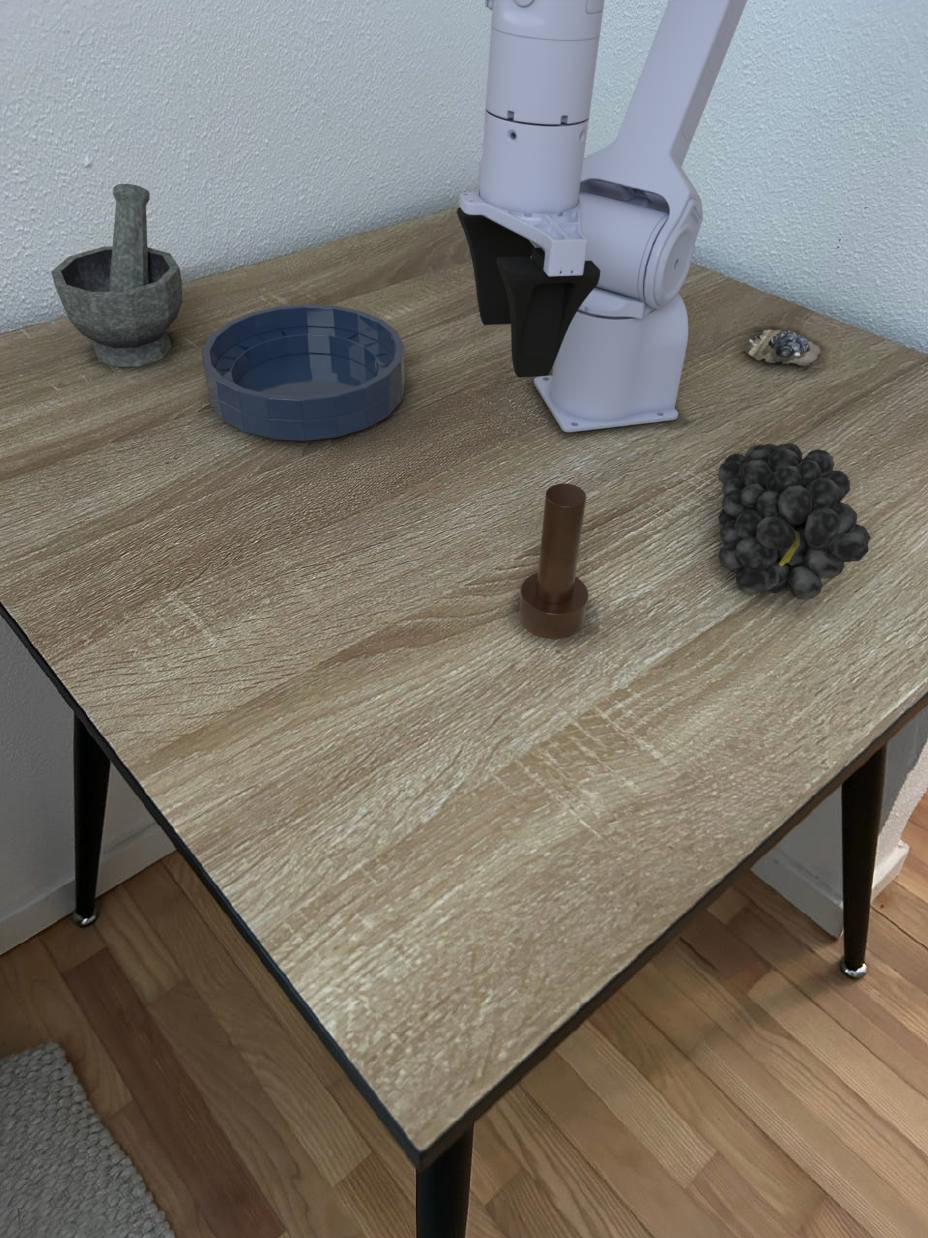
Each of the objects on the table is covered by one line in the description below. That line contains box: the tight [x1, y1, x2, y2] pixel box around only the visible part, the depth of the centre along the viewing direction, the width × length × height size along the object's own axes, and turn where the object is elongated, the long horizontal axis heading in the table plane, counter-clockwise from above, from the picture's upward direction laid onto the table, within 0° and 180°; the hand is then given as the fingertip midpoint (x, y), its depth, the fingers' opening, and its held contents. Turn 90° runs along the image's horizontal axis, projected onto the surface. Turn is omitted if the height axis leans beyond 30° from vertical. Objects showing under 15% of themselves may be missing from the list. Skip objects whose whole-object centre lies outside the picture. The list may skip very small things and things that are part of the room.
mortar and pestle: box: [50, 183, 183, 368], centre depth 79 cm, size 11×9×12 cm
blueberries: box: [743, 328, 822, 367], centre depth 84 cm, size 7×8×2 cm
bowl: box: [201, 303, 406, 442], centre depth 76 cm, size 15×15×4 cm
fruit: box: [717, 442, 871, 601], centre depth 62 cm, size 9×8×15 cm
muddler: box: [518, 482, 589, 640], centre depth 56 cm, size 4×4×9 cm
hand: (513, 347), depth 62 cm, fingers open, 7 cm apart
